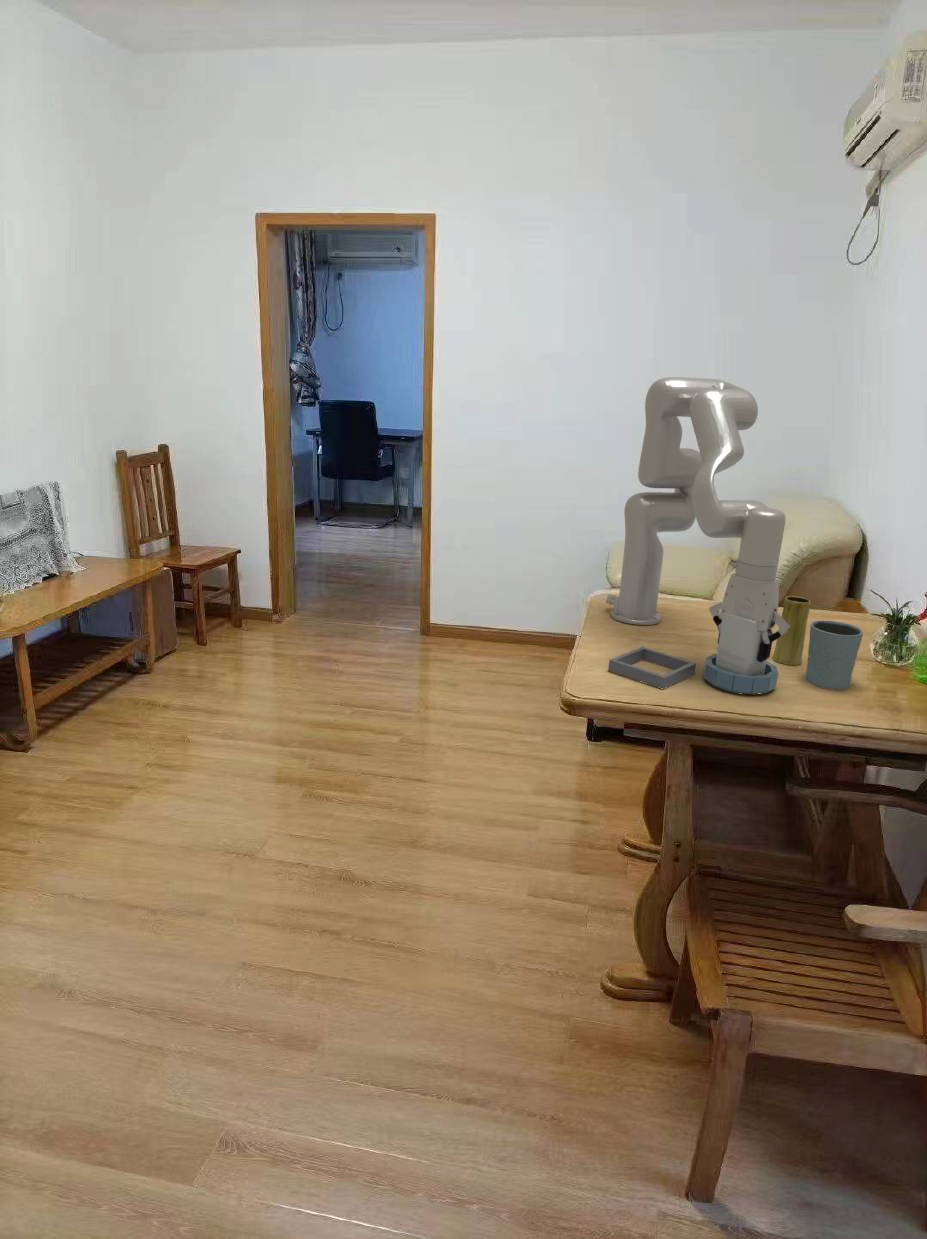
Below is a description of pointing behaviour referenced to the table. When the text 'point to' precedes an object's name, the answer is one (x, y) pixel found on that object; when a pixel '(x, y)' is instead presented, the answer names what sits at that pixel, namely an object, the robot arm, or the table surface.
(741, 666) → the supplement box
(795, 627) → the vase
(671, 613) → the table surface
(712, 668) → the bowl
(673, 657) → the gray square frame
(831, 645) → the blue-grey cup
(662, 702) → the table surface
